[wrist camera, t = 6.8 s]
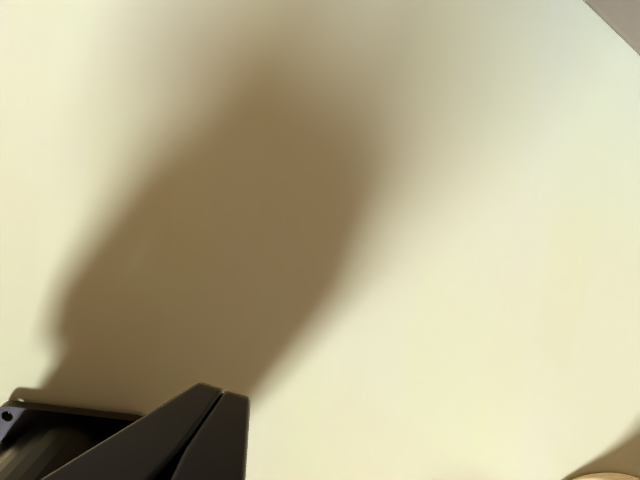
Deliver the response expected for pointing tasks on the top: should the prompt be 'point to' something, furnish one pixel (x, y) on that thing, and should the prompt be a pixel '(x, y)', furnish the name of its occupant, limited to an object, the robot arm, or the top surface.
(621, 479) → the beer glass
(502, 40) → the top surface
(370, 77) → the top surface
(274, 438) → the top surface
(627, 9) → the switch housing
